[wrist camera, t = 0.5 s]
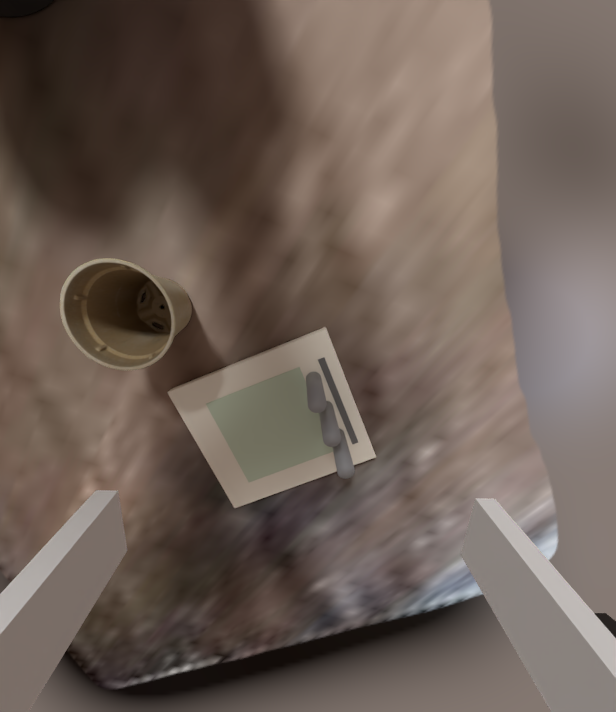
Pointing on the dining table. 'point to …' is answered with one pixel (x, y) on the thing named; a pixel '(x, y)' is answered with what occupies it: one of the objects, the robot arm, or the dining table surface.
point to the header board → (276, 419)
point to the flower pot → (122, 313)
